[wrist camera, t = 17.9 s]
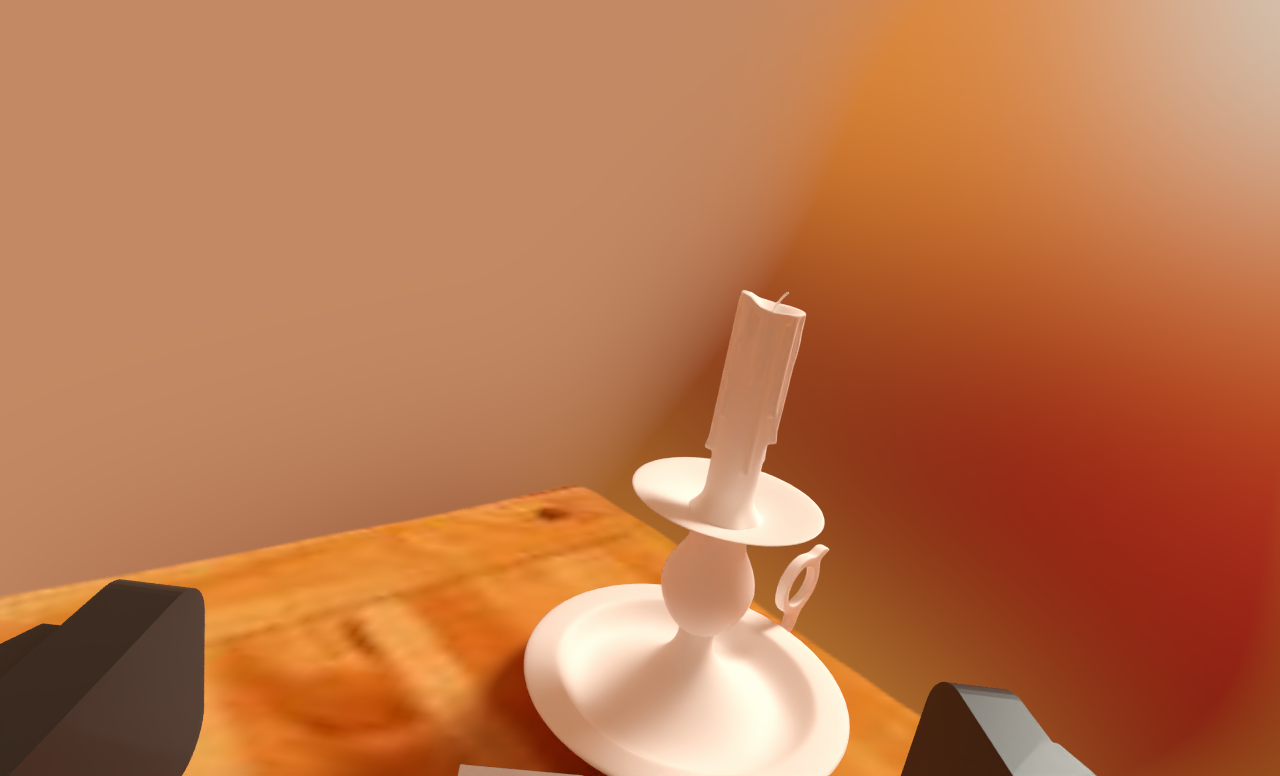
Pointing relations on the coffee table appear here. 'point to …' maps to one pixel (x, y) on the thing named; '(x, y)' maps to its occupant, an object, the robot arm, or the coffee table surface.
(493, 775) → the square bit
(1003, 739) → the robot arm
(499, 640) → the coffee table surface
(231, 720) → the coffee table surface
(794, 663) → the candlestick
